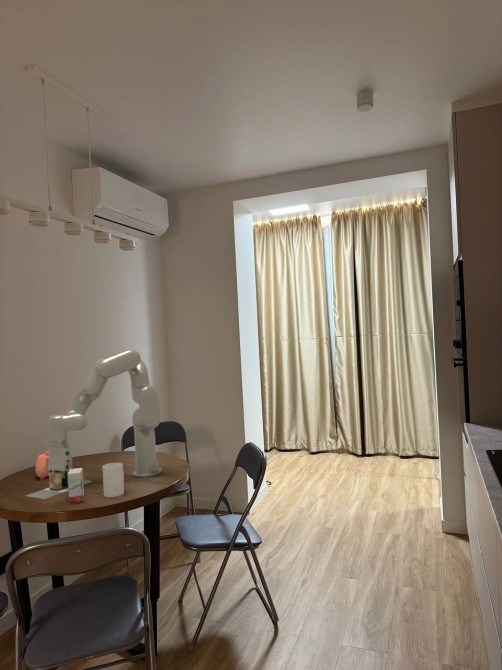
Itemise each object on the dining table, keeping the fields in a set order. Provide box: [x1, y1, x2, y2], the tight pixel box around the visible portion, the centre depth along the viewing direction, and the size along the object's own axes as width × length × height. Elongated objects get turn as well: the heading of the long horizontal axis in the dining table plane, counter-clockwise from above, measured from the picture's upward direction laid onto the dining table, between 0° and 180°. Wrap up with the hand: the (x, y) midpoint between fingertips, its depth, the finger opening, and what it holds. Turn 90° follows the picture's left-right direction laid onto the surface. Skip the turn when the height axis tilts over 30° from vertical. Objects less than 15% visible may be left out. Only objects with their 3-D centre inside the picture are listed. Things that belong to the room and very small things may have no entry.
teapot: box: [35, 450, 50, 481], centre depth 229 cm, size 20×12×12 cm, turn 22°
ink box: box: [68, 467, 85, 505], centre depth 191 cm, size 9×5×12 cm, turn 13°
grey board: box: [25, 479, 94, 500], centre depth 205 cm, size 12×26×1 cm, turn 152°
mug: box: [102, 462, 125, 498], centre depth 198 cm, size 8×12×12 cm
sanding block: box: [48, 471, 68, 491], centre depth 205 cm, size 5×7×7 cm
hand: (60, 485), depth 205 cm, fingers closed on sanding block, 5 cm apart
